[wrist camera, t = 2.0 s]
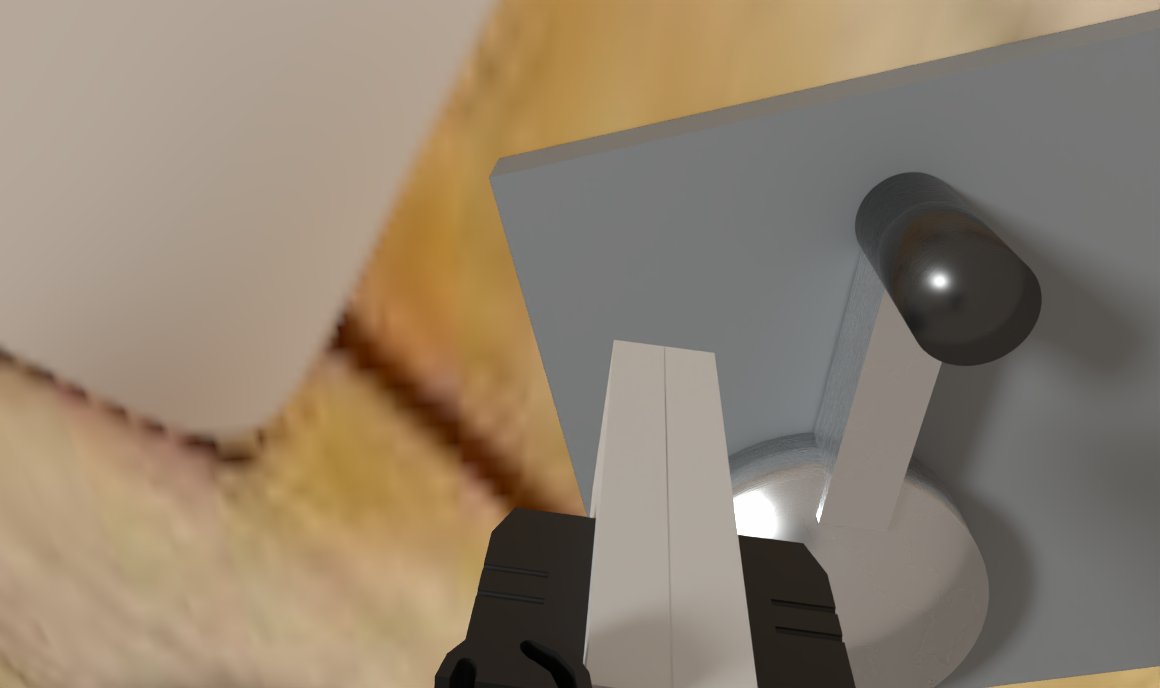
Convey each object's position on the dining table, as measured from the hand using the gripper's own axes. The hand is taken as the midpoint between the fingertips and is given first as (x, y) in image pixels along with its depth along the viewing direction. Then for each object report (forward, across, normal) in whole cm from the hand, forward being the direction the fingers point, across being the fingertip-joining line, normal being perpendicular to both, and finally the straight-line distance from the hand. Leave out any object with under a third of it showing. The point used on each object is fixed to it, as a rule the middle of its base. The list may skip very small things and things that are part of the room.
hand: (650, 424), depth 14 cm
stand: (+15, -11, +7) cm, 20 cm away
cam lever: (+13, -7, +8) cm, 17 cm away
